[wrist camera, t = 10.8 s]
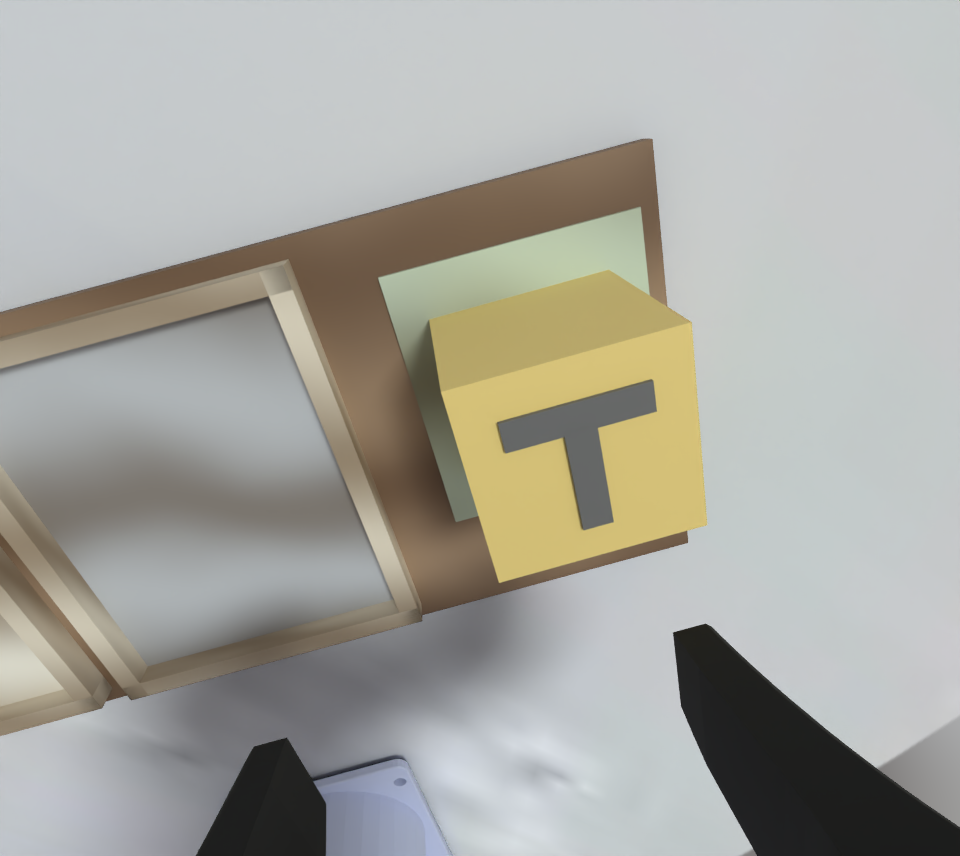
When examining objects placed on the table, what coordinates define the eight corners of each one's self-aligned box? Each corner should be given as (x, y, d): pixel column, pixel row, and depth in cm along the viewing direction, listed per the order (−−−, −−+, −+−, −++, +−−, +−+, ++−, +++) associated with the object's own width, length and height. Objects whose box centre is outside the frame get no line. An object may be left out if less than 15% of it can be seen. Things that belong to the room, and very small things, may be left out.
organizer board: (680, 532, 21) (698, 557, 20) (-158, 760, 21) (-194, 800, 20) (643, 138, 15) (665, 138, 14) (-533, 455, 15) (-617, 485, 14)
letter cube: (631, 428, 18) (709, 527, 13) (474, 472, 18) (499, 585, 13) (608, 269, 16) (693, 324, 11) (428, 319, 16) (441, 394, 11)
